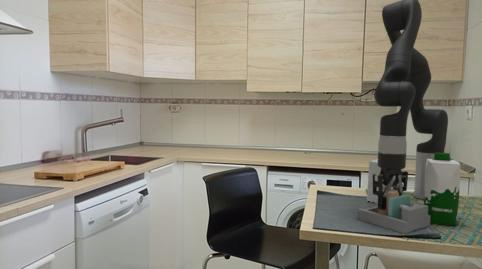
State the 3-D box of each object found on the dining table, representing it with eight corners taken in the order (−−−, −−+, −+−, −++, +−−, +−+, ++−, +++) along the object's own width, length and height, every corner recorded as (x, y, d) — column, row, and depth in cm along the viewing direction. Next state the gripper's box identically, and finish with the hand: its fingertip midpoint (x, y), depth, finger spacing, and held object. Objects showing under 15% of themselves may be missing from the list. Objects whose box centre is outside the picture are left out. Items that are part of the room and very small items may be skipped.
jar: (385, 215, 108) (385, 187, 108) (402, 219, 104) (403, 190, 103) (373, 218, 105) (374, 189, 105) (390, 223, 100) (391, 193, 100)
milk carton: (453, 218, 108) (457, 153, 106) (459, 227, 99) (464, 156, 98) (421, 215, 111) (424, 151, 109) (424, 223, 102) (428, 154, 101)
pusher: (405, 218, 104) (406, 194, 104) (415, 221, 102) (417, 197, 101) (387, 222, 100) (388, 198, 99) (398, 226, 97) (399, 200, 96)
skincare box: (375, 197, 132) (377, 158, 131) (392, 201, 128) (394, 160, 127) (366, 201, 126) (368, 160, 125) (383, 205, 122) (385, 162, 121)
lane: (382, 212, 113) (383, 194, 112) (430, 226, 100) (431, 205, 100) (357, 218, 106) (358, 199, 105) (404, 233, 93) (405, 211, 93)
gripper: (394, 148, 110) (392, 201, 111) (365, 151, 102) (362, 208, 103) (418, 151, 104) (415, 207, 105) (388, 154, 96) (385, 214, 97)
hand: (389, 207), depth 104 cm, fingers open, 6 cm apart
